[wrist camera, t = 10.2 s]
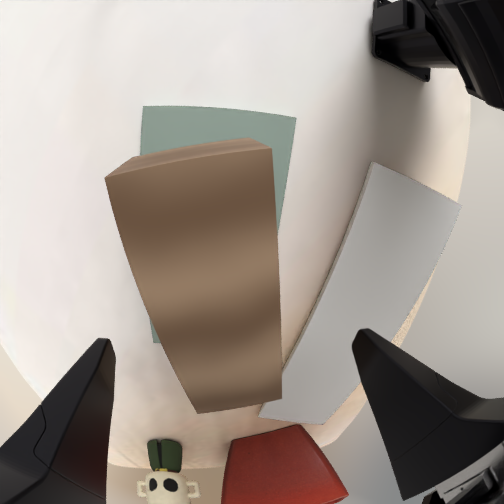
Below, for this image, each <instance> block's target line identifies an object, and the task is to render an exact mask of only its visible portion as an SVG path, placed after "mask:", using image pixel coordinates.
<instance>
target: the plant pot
mask: <svg viewBox="0 0 504 504" xmlns="http://www.w3.org/2000/svg"><path fill="white" fill-rule="evenodd" d="M348 495H349V494H348V492H347V490H346V488H345V487H344V485H343V483H342V482H341V480H340V478H339V477H338V475H337V473H336V472H335V470H334V468H333V467H332V465H331V464H330V463H329V461H328V459H327V458H326V456H325V455H324V453H323V452H322V451H321V449H320V448H319V447H318V445H317V444H316V443H315V441H314V440H313V439H312V437H311V436H310V435H309V434H308V433H307V431H306V430H305V429H304V428H303V427H302V426H301V425H294V426H291V427H287V428H284V429H280V430H276V431H272V432H268V433H264V434H260V435H255V436H251V437H246V438H241V439H236V440H233V441H232V442H231V445H230V448H229V452H228V457H227V462H226V467H225V472H224V479H223V487H222V497H221V504H334V503H337V502H339V501H341V500H343V499H344V498H345V497H347V496H348Z"/></svg>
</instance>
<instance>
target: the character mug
mask: <svg viewBox="0 0 504 504" xmlns="http://www.w3.org/2000/svg"><path fill="white" fill-rule="evenodd" d="M147 447H148V455H149V461H150V466H151V468H152V470H153V471H154V472H151V473H148V474H147V476H146V481H138V482H137V493H138V495H139V496H140V497H147V504H191V502H190V498H198V497H200V495H201V493H200V486H199V482H198V481H188V480H187V478H186V476H184V475H182V474H179V472H180V470H181V464H182V446H181V445H180V444H179V443H177V442H173V441H168V440H161V444H158V443H157V440H153V441H149V442H148V443H147ZM143 485H145V486H146V492H143V488H142V486H143ZM188 486H194V493H189V487H188Z"/></svg>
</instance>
